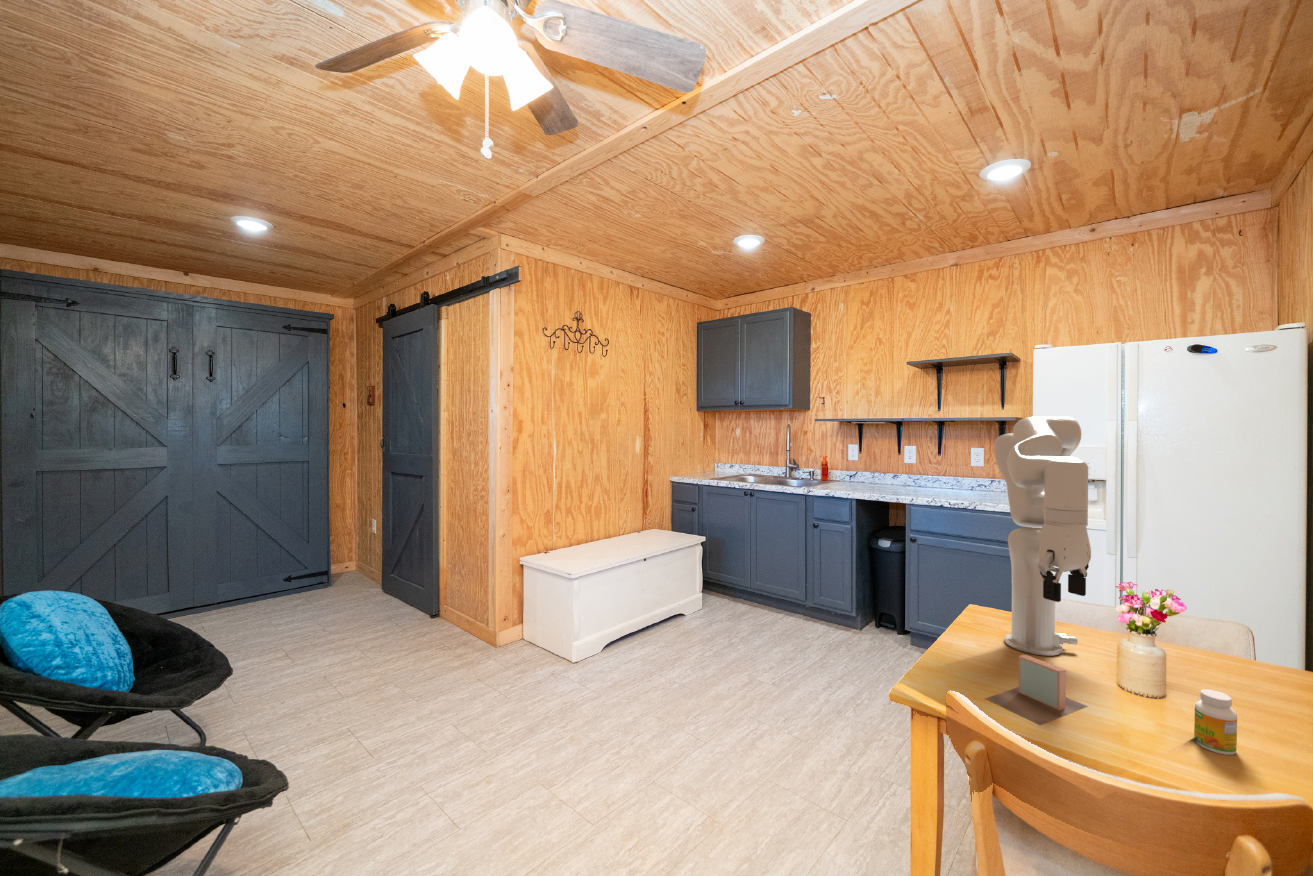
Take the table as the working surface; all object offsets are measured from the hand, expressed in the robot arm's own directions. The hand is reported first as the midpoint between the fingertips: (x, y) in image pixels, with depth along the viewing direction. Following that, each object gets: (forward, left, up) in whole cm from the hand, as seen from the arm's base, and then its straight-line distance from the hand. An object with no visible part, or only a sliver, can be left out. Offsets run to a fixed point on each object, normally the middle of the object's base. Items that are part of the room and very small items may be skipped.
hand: (1064, 596), depth 115 cm
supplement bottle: (-18, +13, -22) cm, 32 cm away
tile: (+6, +5, -21) cm, 22 cm away
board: (+8, +6, -22) cm, 24 cm away
